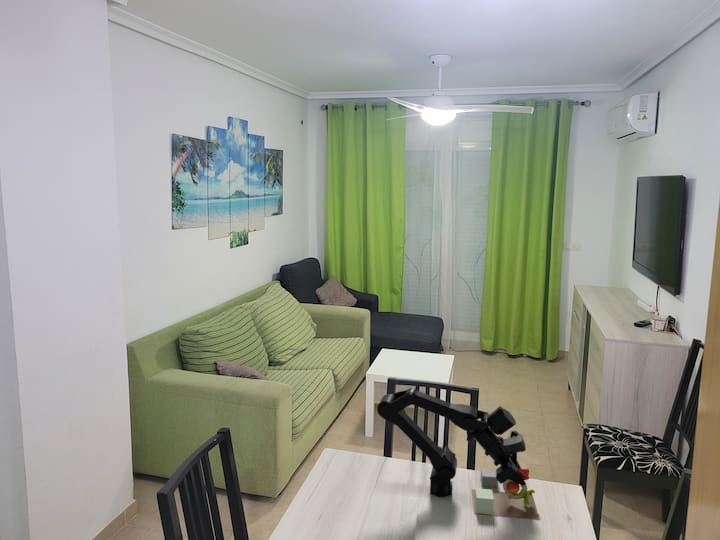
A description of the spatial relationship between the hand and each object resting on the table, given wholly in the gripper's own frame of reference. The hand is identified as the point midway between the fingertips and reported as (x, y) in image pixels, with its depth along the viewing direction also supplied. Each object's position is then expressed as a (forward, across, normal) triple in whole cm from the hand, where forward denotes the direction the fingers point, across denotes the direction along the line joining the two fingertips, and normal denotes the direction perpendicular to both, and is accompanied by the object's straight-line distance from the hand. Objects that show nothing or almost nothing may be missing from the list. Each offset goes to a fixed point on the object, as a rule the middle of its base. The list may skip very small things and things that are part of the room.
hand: (524, 481), depth 166 cm
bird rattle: (+4, 0, +6) cm, 7 cm away
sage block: (-2, -5, +14) cm, 15 cm away
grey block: (0, +10, +14) cm, 17 cm away
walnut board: (+3, -1, +11) cm, 11 cm away
